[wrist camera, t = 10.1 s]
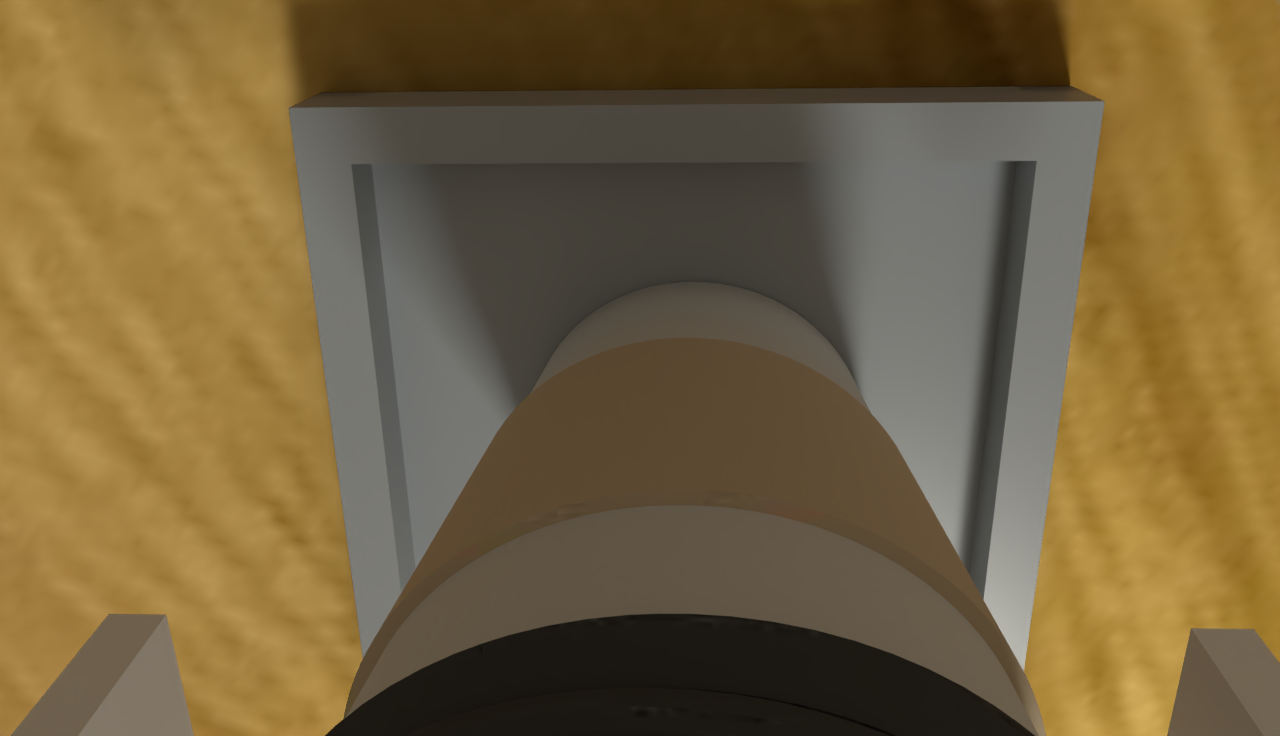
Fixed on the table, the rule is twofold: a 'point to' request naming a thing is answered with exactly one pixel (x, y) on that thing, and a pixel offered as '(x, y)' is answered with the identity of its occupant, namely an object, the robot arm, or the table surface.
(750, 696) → the coffee cup
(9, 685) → the table surface
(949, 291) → the tray
